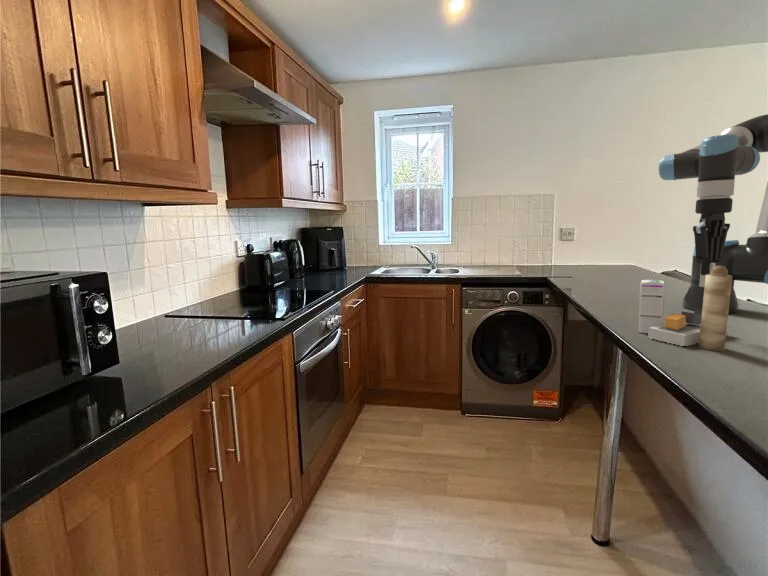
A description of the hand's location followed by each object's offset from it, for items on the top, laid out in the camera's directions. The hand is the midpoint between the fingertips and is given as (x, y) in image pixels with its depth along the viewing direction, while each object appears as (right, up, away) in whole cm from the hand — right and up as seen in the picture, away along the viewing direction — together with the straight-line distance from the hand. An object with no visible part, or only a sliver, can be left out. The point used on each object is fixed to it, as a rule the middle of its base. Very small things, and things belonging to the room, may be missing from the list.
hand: (706, 286), depth 112 cm
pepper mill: (-6, -15, -10) cm, 19 cm away
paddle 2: (0, -10, +1) cm, 10 cm away
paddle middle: (-5, -11, -1) cm, 12 cm away
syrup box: (-12, -13, +6) cm, 18 cm away
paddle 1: (-11, -11, -4) cm, 16 cm away
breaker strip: (-5, -13, -1) cm, 15 cm away
